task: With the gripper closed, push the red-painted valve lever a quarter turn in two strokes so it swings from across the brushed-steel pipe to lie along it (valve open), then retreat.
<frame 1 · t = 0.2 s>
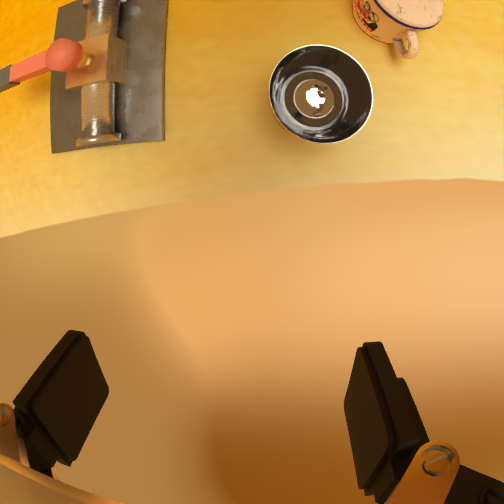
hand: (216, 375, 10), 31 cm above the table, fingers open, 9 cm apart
wine glass: (301, 107, 34), on the table
teacup with lid: (384, 25, 29), on the table
valve: (110, 68, 33), on the table
lever: (25, 70, 23), point 11 cm above the table, hinge at 0.0°
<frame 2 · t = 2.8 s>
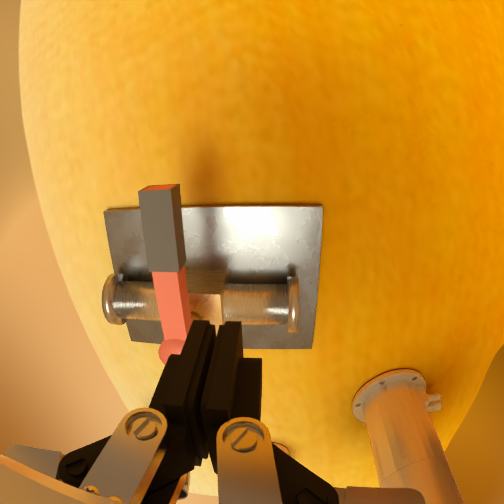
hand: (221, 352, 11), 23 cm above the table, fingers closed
valve: (204, 289, 36), on the table
lever: (171, 288, 24), point 11 cm above the table, hinge at 0.0°
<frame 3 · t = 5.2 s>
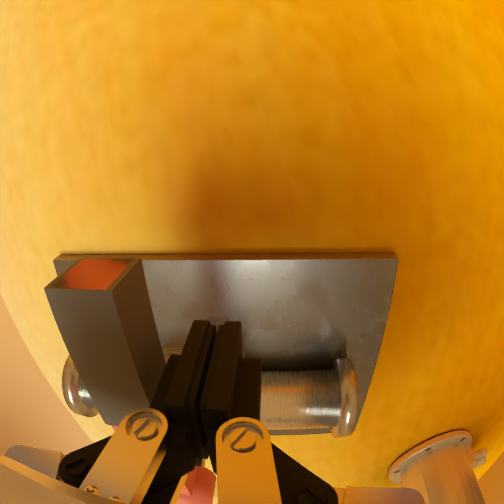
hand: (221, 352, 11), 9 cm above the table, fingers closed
valve: (209, 369, 24), on the table
lever: (153, 435, 11), point 11 cm above the table, hinge at 0.9°, touching gripper
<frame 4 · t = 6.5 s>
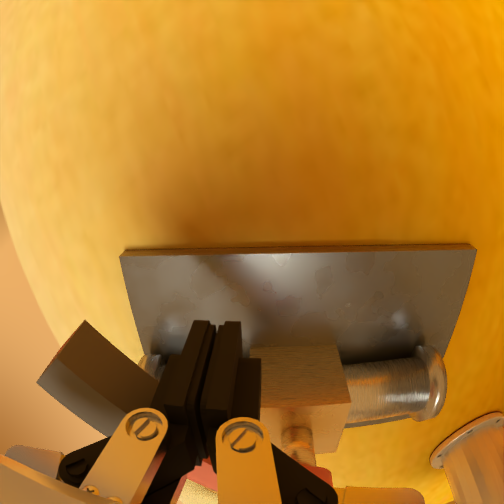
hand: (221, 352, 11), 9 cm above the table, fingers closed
valve: (291, 367, 23), on the table
lever: (218, 461, 11), point 11 cm above the table, hinge at 39.8°, touching gripper
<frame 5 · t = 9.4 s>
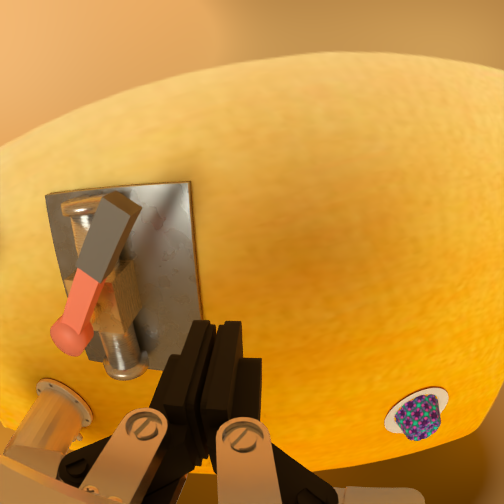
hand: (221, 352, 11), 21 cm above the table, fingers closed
pudding: (415, 408, 42), on the table
valve: (117, 279, 34), on the table
lever: (87, 286, 22), point 11 cm above the table, hinge at 55.4°
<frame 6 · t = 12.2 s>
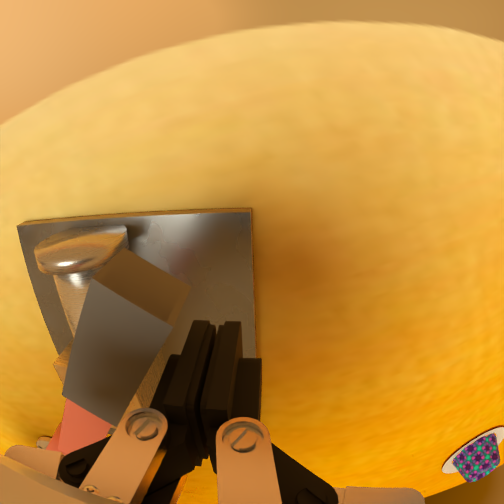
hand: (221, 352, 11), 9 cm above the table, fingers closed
pudding: (473, 447, 30), on the table
valve: (132, 347, 23), on the table
lever: (91, 413, 11), point 11 cm above the table, hinge at 56.7°, touching gripper
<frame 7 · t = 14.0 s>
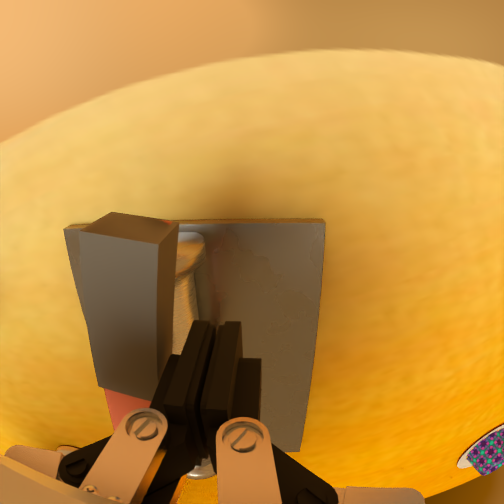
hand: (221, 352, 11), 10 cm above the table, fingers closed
pudding: (485, 442, 31), on the table
valve: (186, 354, 24), on the table
lever: (139, 406, 11), point 11 cm above the table, hinge at 79.7°, touching gripper
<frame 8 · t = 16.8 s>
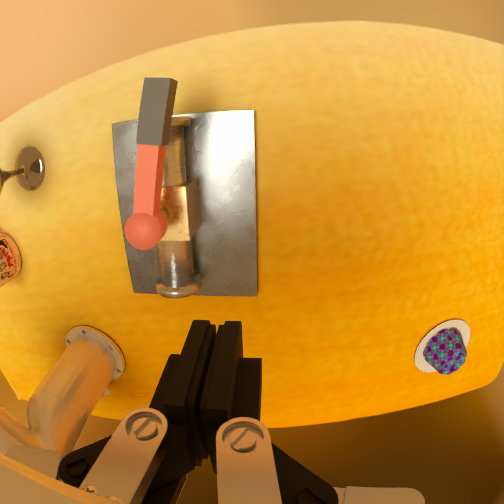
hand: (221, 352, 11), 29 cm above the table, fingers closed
pudding: (441, 344, 46), on the table
wine glass: (30, 168, 38), on the table
teacup with lid: (5, 246, 43), on the table
valve: (177, 201, 39), on the table
lever: (150, 164, 26), point 11 cm above the table, hinge at 79.7°
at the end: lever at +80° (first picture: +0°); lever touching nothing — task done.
